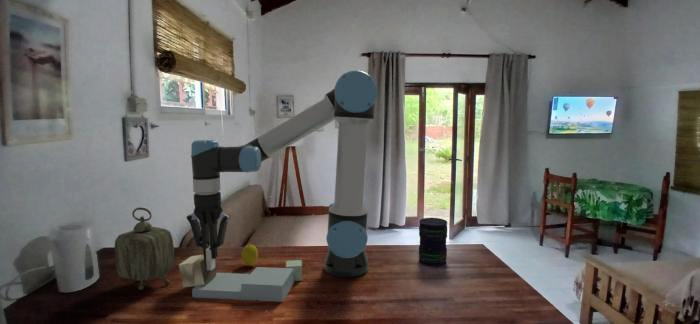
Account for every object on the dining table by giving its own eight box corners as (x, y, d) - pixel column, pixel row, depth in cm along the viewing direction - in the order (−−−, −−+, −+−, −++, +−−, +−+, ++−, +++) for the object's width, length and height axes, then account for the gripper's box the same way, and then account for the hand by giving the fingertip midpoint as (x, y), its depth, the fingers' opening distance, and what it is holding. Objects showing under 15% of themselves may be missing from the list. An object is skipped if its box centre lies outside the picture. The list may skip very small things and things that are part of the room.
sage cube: (301, 274, 123) (301, 259, 122) (302, 280, 118) (301, 265, 118) (286, 275, 122) (286, 260, 122) (286, 281, 117) (285, 266, 117)
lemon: (254, 269, 127) (253, 247, 126) (239, 268, 128) (238, 246, 127) (261, 263, 132) (260, 241, 131) (246, 262, 133) (245, 241, 132)
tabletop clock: (176, 283, 117) (171, 205, 114) (154, 296, 108) (148, 213, 105) (139, 278, 121) (133, 203, 118) (114, 290, 112) (108, 210, 109)
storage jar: (450, 260, 134) (451, 219, 132) (441, 269, 126) (442, 226, 124) (424, 254, 139) (424, 216, 138) (414, 263, 131) (414, 222, 129)
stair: (294, 283, 116) (293, 268, 116) (282, 301, 104) (282, 285, 104) (212, 279, 119) (211, 265, 119) (192, 297, 107) (191, 281, 107)
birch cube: (212, 253, 115) (191, 256, 116) (200, 262, 108) (178, 264, 109) (216, 275, 116) (195, 277, 117) (205, 284, 109) (183, 287, 110)
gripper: (233, 190, 112) (236, 264, 115) (193, 189, 114) (197, 263, 117) (222, 195, 105) (226, 274, 108) (179, 194, 107) (184, 272, 109)
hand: (211, 268), depth 112 cm, fingers closed
